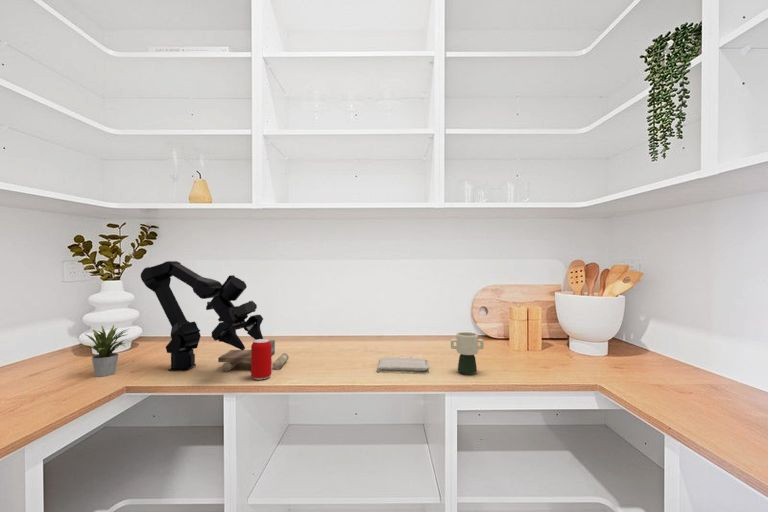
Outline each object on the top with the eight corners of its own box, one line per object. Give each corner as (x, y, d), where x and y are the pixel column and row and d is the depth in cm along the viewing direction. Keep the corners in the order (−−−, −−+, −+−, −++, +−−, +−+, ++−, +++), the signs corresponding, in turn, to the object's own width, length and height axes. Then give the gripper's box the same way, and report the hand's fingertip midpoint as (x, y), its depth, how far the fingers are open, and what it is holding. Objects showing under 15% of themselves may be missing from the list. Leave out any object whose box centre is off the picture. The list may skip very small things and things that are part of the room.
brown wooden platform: (216, 372, 124) (217, 348, 125) (232, 361, 137) (232, 339, 138) (264, 371, 125) (264, 348, 125) (275, 361, 138) (275, 339, 138)
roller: (272, 369, 127) (272, 360, 127) (280, 361, 137) (280, 353, 137) (281, 369, 127) (281, 360, 127) (288, 361, 137) (288, 353, 137)
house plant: (129, 377, 119) (130, 326, 119) (74, 384, 112) (74, 331, 112) (134, 366, 131) (134, 320, 131) (84, 372, 124) (84, 323, 125)
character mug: (481, 369, 126) (481, 331, 126) (486, 376, 119) (486, 336, 119) (449, 369, 127) (449, 331, 127) (452, 376, 120) (452, 335, 120)
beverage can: (268, 373, 122) (268, 337, 123) (273, 378, 117) (273, 341, 117) (249, 377, 119) (249, 339, 119) (254, 382, 114) (254, 343, 114)
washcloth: (430, 375, 122) (430, 366, 122) (375, 374, 123) (375, 365, 123) (428, 365, 134) (428, 356, 134) (379, 364, 135) (379, 355, 135)
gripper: (218, 296, 112) (248, 334, 109) (258, 291, 130) (285, 324, 126) (198, 321, 115) (227, 359, 111) (240, 312, 132) (266, 345, 129)
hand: (253, 345), depth 119 cm, fingers open, 9 cm apart
